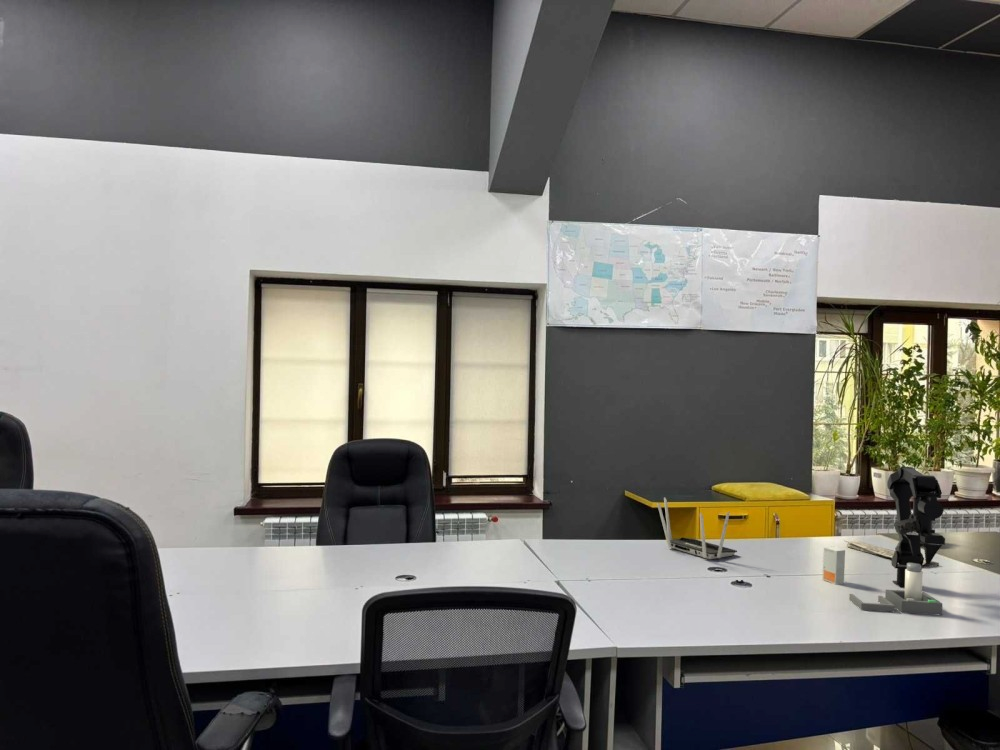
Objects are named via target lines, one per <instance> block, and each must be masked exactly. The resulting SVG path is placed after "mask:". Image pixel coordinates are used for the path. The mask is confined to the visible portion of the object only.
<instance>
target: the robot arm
mask: <svg viewBox="0 0 1000 750" xmlns="http://www.w3.org/2000/svg"><path fill="white" fill-rule="evenodd" d="M886 482H887V483H886V486H887V489H888V491H889V495H890V497H891V498H892V499H893V501H894V502H895V509H896V510H895V511H896V520H897V521H896V522H895V521H894V522H893V527H894V529H895V533H897V534H898V533H899V535H898V539H899V541H898V543H897V544H896V546H895V550H894V551H895V552H894V555H893V557H892V559H890V561H891V566H892V567H893V568H894V569H896V580H892V583H893V584H894V585H896V586H898V587H900V588H905V569H907V563H917V564H920V565H921V571H922V570H923V567H924V564H923V561H924V559H925V560H926V563H930V562H931V561H933V558H934V557H935V555H936V554H937V552H938V551H939V550H940V549H941V547H943V546H944V545H946V538H945V536H943V535H942V534H940V533H938V532H937V533H936V532H935V531H936V530H935V529H933V522H935V521H936V519H939V518H941V516H942V515H943V514H944V510H945V509H944V506H943V505H942V503H940V502H939V501H938V499H941V498H942V494H943V492H942V489H941V485H940V483H939V481H938V479H937V478H936V477H935V476H934V475H930V474H929V475H927V474H923V473H921V472H920V471H919V470H917V469H916V468H915V467H912V466H898V469H897V470H896V471H894V472H892V473H891V474H890V475H889V477H888V479H887V481H886ZM912 497H913V499H912V500H913V505H912V507H911V498H912ZM911 509H912V510H911ZM921 545H922V546H923V550H924V555H923V552H922V550H921V549H922V547H921Z"/></svg>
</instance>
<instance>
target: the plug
mask: <svg viewBox="0 0 1000 750" xmlns="http://www.w3.org/2000/svg"><path fill="white" fill-rule="evenodd" d="M923 573H924V572H923V571H922V570H921V565H920V564H917V563H907V569H905V587H904V591H905V598H904V600H906V598H910V599H914V600H916V601H922V592H923Z"/></svg>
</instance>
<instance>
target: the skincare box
mask: <svg viewBox="0 0 1000 750" xmlns="http://www.w3.org/2000/svg"><path fill="white" fill-rule="evenodd" d="M822 555H823V557H822V559H823V560H822V562H823V563H822V580H823V581H826V582H829V583H831V584H834V585H841V584H844V583H845V567H846V566H845V564H846V563H845V562H846V550H845V549H842V548H840V547H835V546H830V545H829V546H824V547H823V554H822Z"/></svg>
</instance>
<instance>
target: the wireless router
mask: <svg viewBox="0 0 1000 750" xmlns="http://www.w3.org/2000/svg"><path fill="white" fill-rule="evenodd" d="M663 502H664V510H665V517H664V515H663V510H662V506H661V504H659V502H657V503H656V504H657V509H658V512H659V517H660V520H661V521H660V522H661V523H662V524H661V525H662V527H663V531H664V536H665V539H666V544H667V547H668V548H671V549H674V550H678V551H679V552H680V551H681V552H683V553H688V554H690V555H694V556H697V557H701V558H703V559H708V560H713V559H714V560H715V559H721V558H726V557H730V556H734V554H735V553H738V550H736V549H733V548H729V547H726V546H724V541H725V536H726V532H727V526H728V522H729V517H730V511H728V512H726V514H725V519H724V523H723V527H722V532H721V537H720V542H719V544H715V543H710V542H707V541H706V536H705V525H704V516H703V514H702V513H701V512H699V520H700V521H699V523H700V535H701V540H699V539H696V538H686V537H681V538H673V537H672V531H671V524H670V523H671V522H670V515H669V508H668V500H667V498H666V497H663ZM665 519H666V521H665Z"/></svg>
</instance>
